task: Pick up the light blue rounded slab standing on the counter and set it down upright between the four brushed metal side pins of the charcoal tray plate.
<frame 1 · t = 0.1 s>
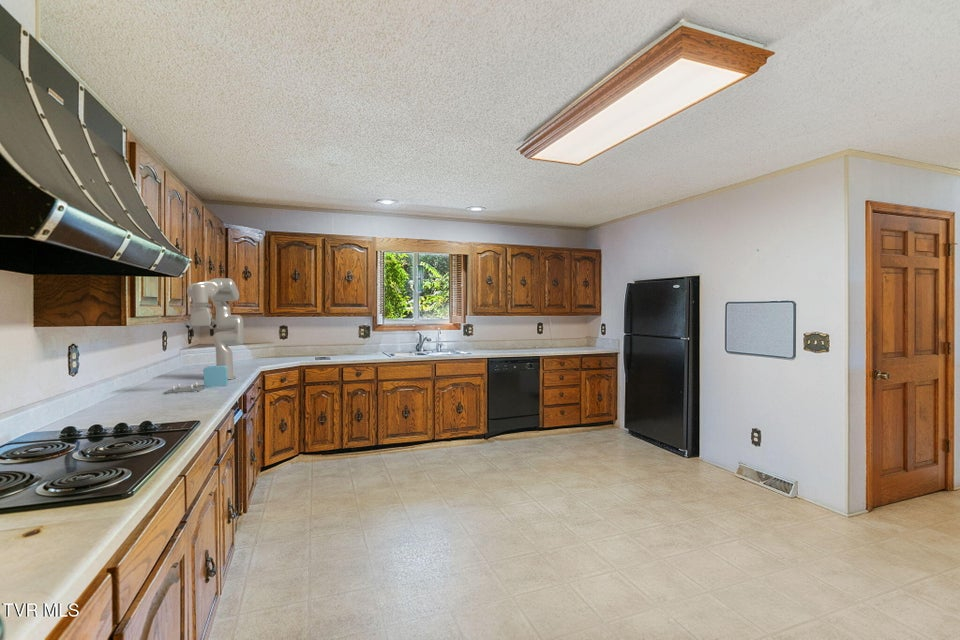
hand: (202, 336, 258), 31 cm above the countertop, tool pointing down, fingers open, 9 cm apart
light blue rounded slab: (216, 386, 275), on the countertop
pin tray: (185, 390, 261), on the countertop
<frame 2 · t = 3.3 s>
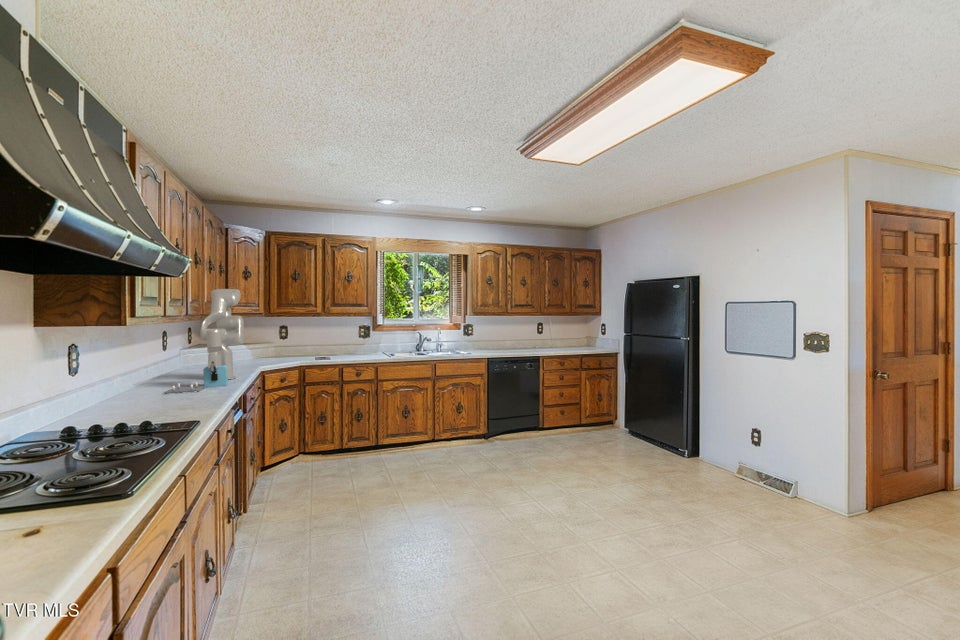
hand: (215, 379, 275), 4 cm above the countertop, tool pointing down, fingers closed on light blue rounded slab, 4 cm apart
light blue rounded slab: (216, 386, 275), on the countertop, touching gripper
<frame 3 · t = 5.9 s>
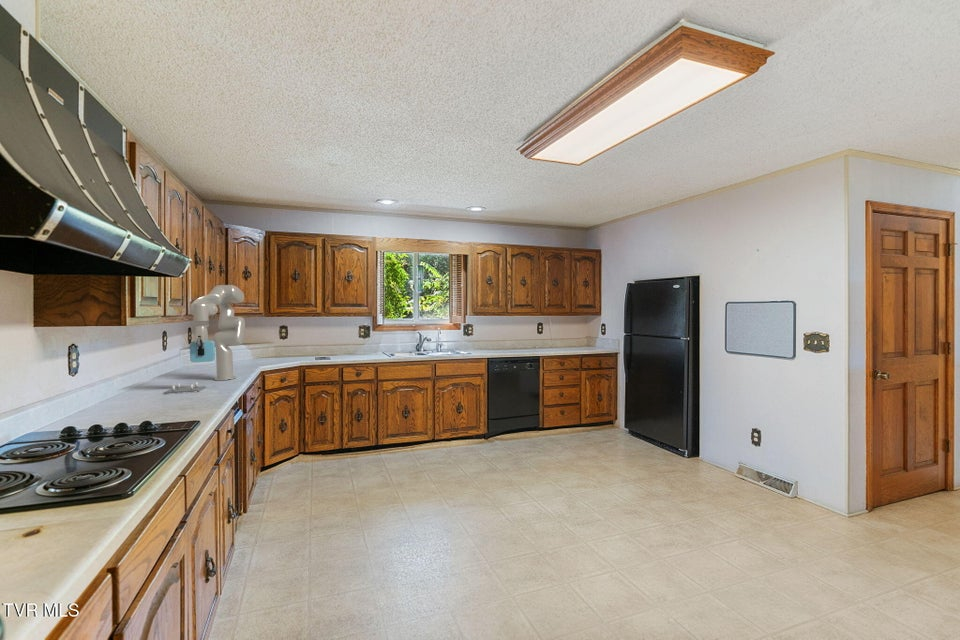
hand: (202, 354, 268), 20 cm above the countertop, tool pointing down, fingers closed on light blue rounded slab, 4 cm apart
light blue rounded slab: (202, 361, 268), point 16 cm above the countertop, touching gripper
when the fingers open (6 cm above the countertop, at t = 8.7 s): light blue rounded slab stays where it is, resting on pin tray.
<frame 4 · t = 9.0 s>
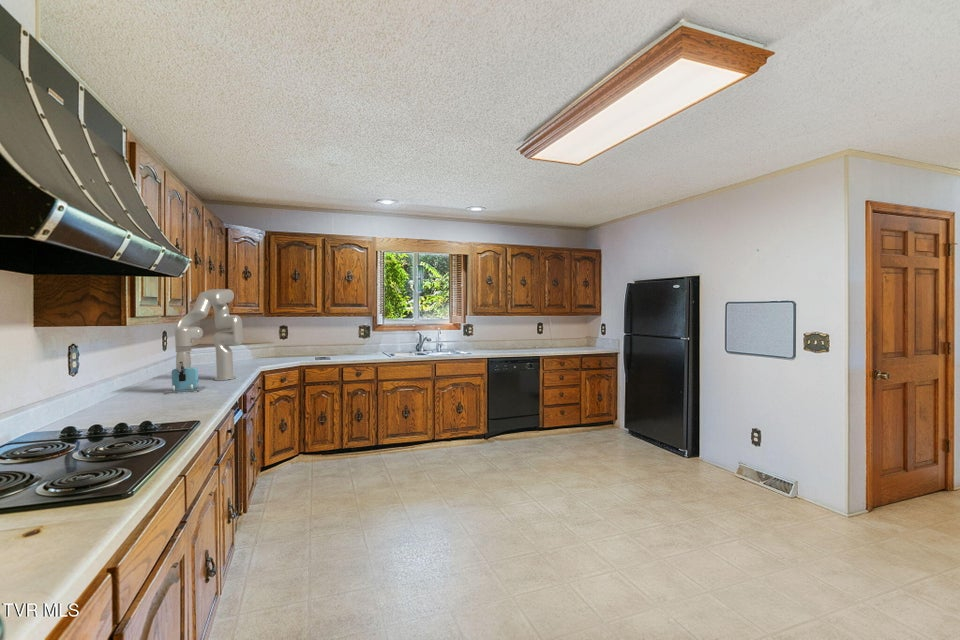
hand: (184, 379, 261), 6 cm above the countertop, tool pointing down, fingers open, 7 cm apart
light blue rounded slab: (185, 389, 261), point 1 cm above the countertop, touching pin tray
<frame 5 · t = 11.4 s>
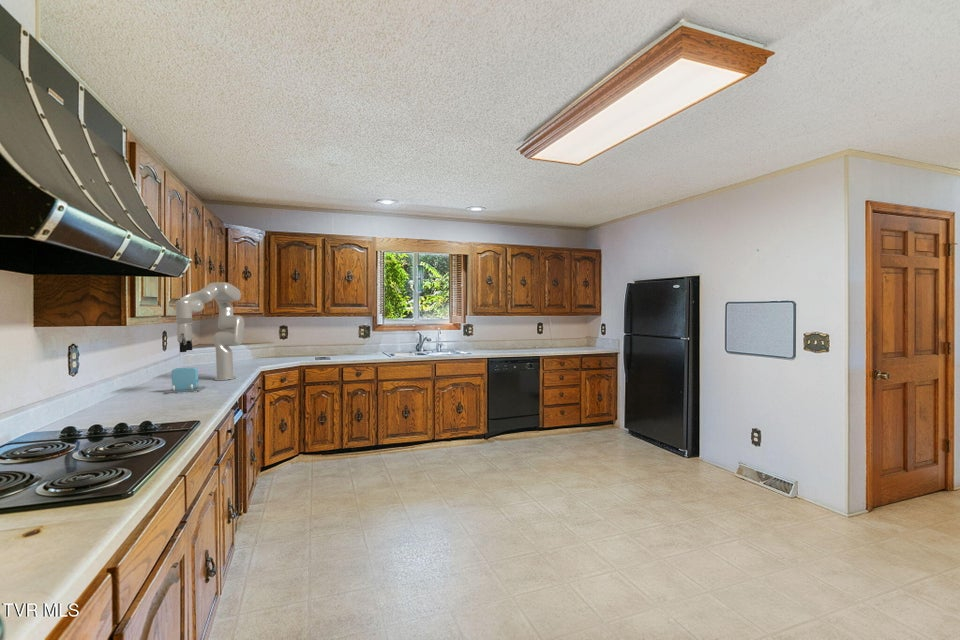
hand: (186, 351, 262), 23 cm above the countertop, tool pointing down, fingers open, 9 cm apart
nothing on the countertop moved.
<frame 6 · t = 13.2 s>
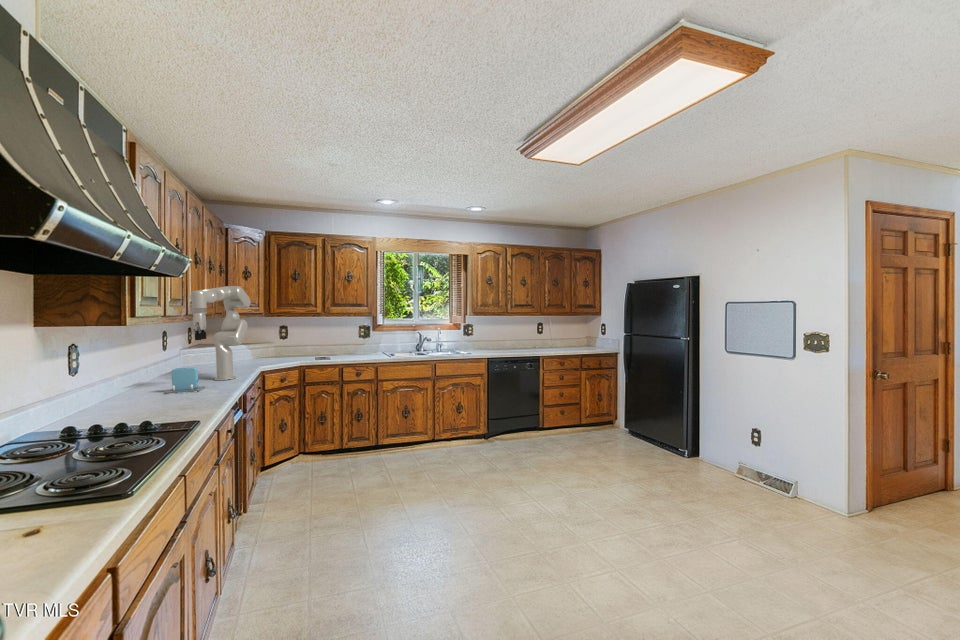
hand: (200, 339, 275), 28 cm above the countertop, tool pointing down, fingers open, 9 cm apart
nothing on the countertop moved.
at the end: light blue rounded slab 0.3 cm off-centre on the pin tray, point 0.8 cm above the pin tray's base; light blue rounded slab tilted 0°; the gripper is holding nothing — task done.
